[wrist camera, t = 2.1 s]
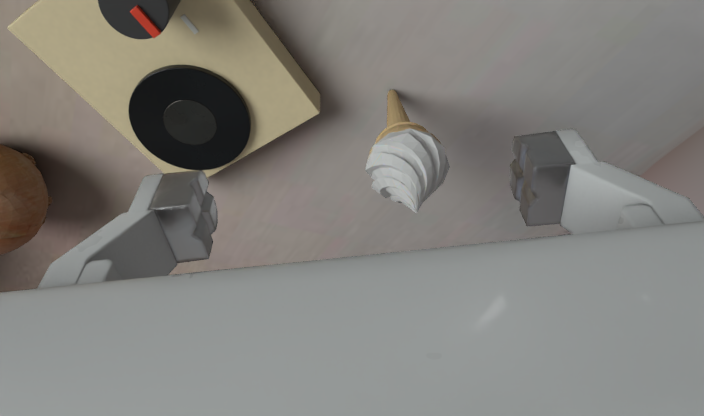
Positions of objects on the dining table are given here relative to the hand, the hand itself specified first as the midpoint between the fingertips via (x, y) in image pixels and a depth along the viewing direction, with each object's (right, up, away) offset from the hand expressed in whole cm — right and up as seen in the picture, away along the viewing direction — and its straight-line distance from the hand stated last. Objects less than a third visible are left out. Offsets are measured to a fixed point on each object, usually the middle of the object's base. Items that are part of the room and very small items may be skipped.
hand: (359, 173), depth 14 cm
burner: (-12, +6, +27) cm, 30 cm away
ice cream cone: (+3, +9, +30) cm, 31 cm away
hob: (-13, +11, +27) cm, 32 cm away
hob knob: (-13, +14, +20) cm, 28 cm away
